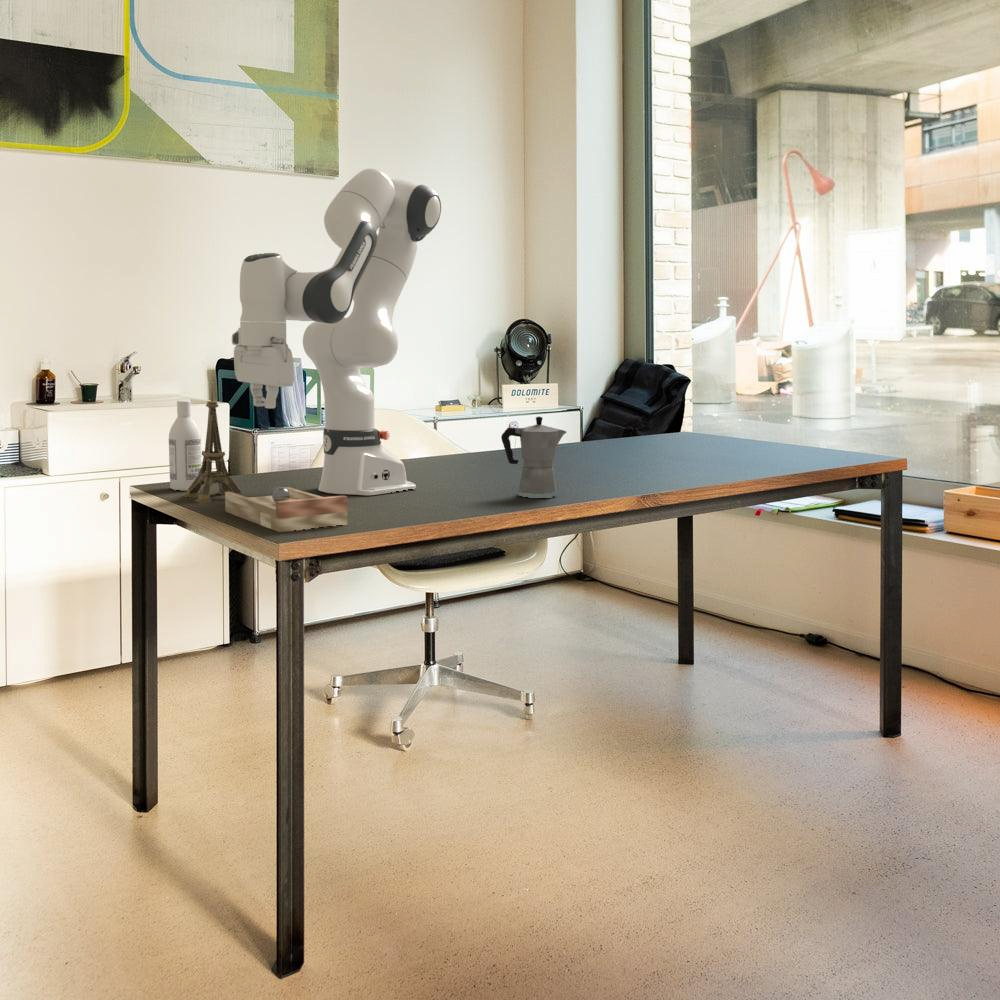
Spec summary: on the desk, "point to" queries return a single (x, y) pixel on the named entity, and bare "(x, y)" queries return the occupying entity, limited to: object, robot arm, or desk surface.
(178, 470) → the bath foam
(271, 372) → the robot arm
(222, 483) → the eiffel tower
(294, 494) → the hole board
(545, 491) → the coffeepot
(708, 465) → the desk surface
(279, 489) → the steel ball
